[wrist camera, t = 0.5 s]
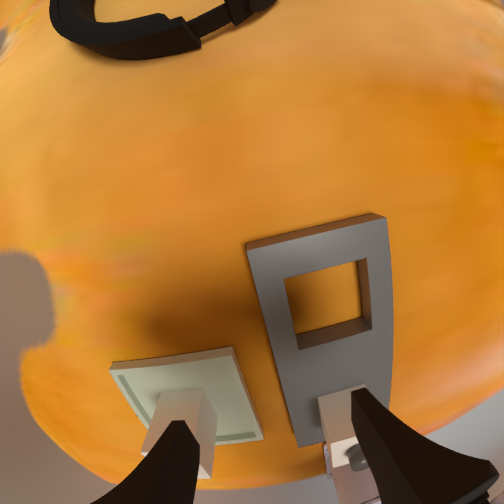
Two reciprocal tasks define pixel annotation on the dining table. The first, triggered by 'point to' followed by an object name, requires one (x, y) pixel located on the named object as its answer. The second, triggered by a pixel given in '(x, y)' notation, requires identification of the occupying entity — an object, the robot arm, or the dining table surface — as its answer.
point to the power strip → (329, 330)
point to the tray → (193, 377)
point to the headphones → (145, 28)
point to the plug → (196, 417)
